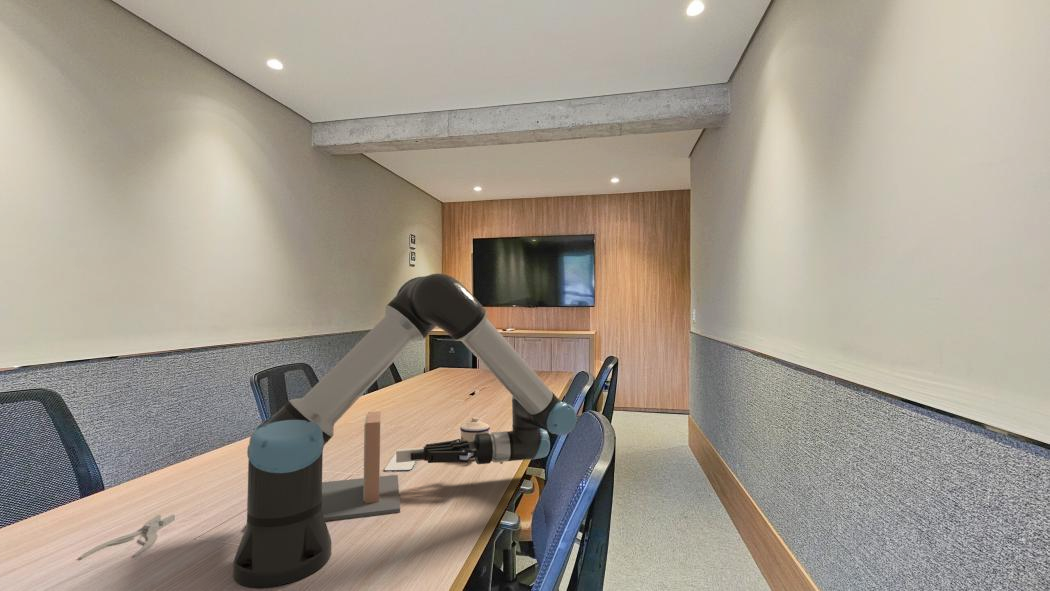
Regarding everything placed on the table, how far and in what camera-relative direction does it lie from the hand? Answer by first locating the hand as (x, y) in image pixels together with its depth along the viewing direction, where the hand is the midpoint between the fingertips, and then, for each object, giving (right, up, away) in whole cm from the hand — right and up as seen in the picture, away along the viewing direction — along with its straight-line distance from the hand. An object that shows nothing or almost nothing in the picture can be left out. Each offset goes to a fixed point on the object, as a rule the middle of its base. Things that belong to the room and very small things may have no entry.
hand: (396, 456), depth 110 cm
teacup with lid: (+16, -10, +27) cm, 33 cm away
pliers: (-44, -9, -22) cm, 50 cm away
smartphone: (-5, -10, +23) cm, 26 cm away
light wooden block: (-5, -8, -2) cm, 10 cm away
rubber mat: (-14, -9, -5) cm, 17 cm away
